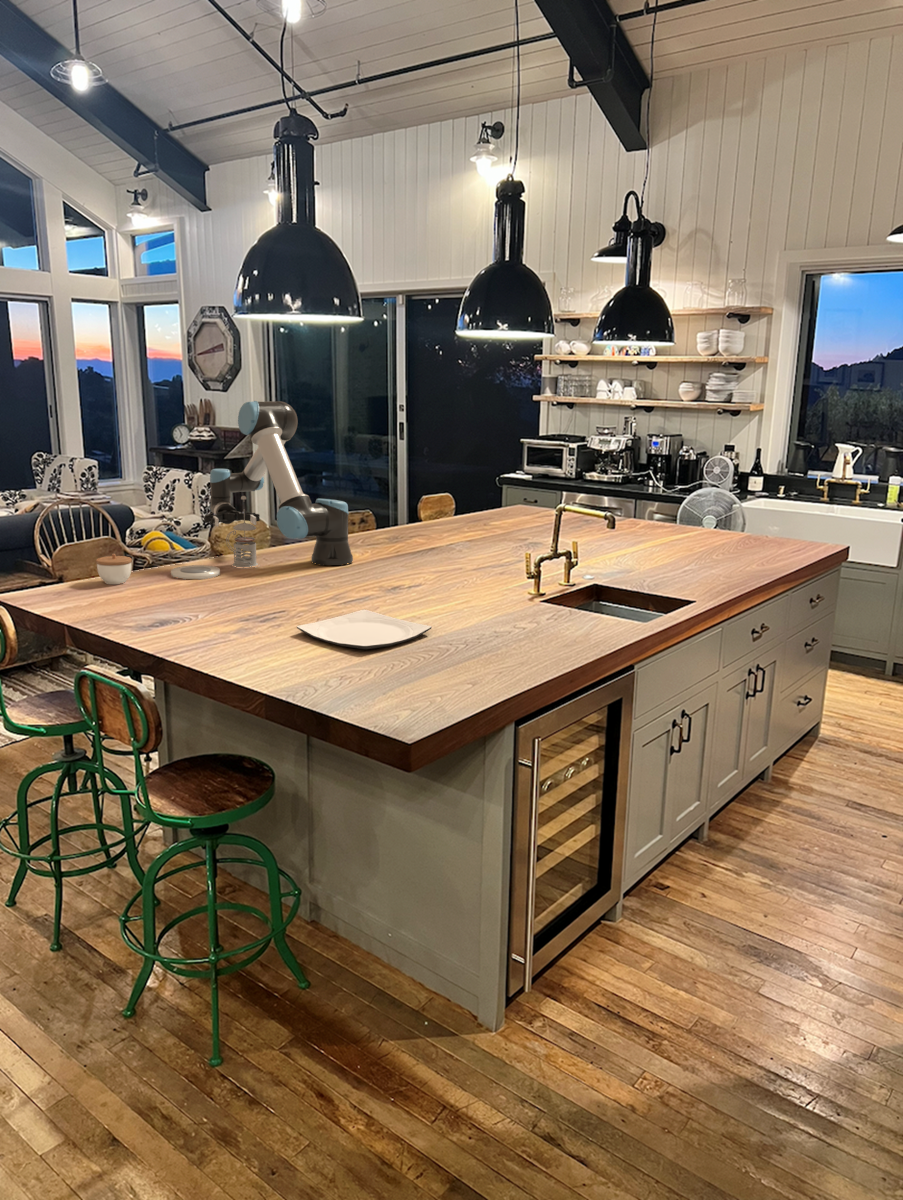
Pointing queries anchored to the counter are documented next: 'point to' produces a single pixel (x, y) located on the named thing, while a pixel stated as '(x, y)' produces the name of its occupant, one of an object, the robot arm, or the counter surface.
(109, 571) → the lidded jar
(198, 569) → the disc
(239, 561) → the french press
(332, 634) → the plate
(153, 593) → the counter surface
